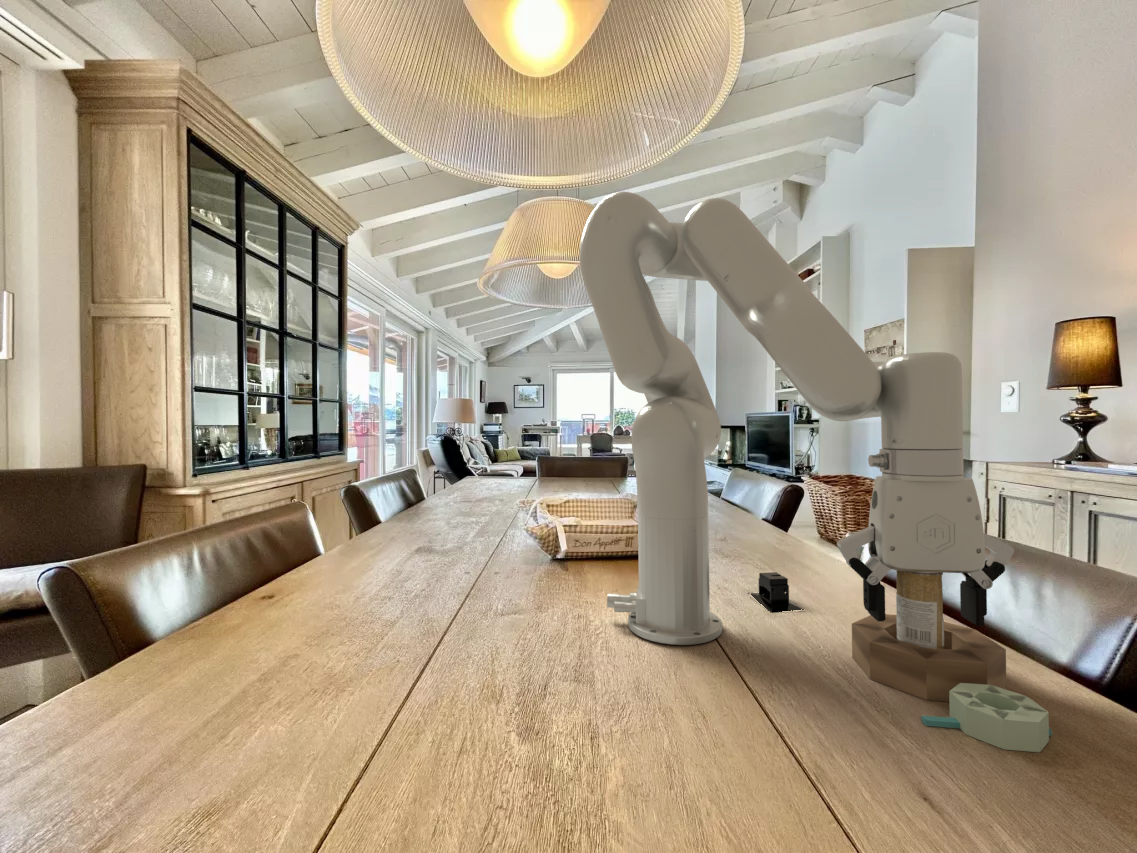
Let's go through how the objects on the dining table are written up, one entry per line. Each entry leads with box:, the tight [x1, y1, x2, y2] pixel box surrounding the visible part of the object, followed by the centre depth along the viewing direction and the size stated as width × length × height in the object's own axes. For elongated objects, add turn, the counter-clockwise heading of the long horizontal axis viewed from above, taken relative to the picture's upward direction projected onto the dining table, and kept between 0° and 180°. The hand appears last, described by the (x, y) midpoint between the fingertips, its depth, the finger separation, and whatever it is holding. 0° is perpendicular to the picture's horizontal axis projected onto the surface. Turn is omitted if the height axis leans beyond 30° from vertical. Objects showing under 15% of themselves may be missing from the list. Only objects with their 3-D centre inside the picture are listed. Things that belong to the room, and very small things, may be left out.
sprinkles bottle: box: [895, 570, 945, 649], centre depth 58 cm, size 5×5×14 cm
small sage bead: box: [949, 683, 1050, 753], centre depth 47 cm, size 6×6×2 cm
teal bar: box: [920, 714, 1053, 737], centre depth 47 cm, size 10×1×1 cm, turn 80°
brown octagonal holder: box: [851, 613, 1007, 703], centre depth 58 cm, size 13×13×4 cm
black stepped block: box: [751, 571, 805, 614], centre depth 82 cm, size 12×7×5 cm, turn 5°
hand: (923, 619), depth 58 cm, fingers open, 9 cm apart
